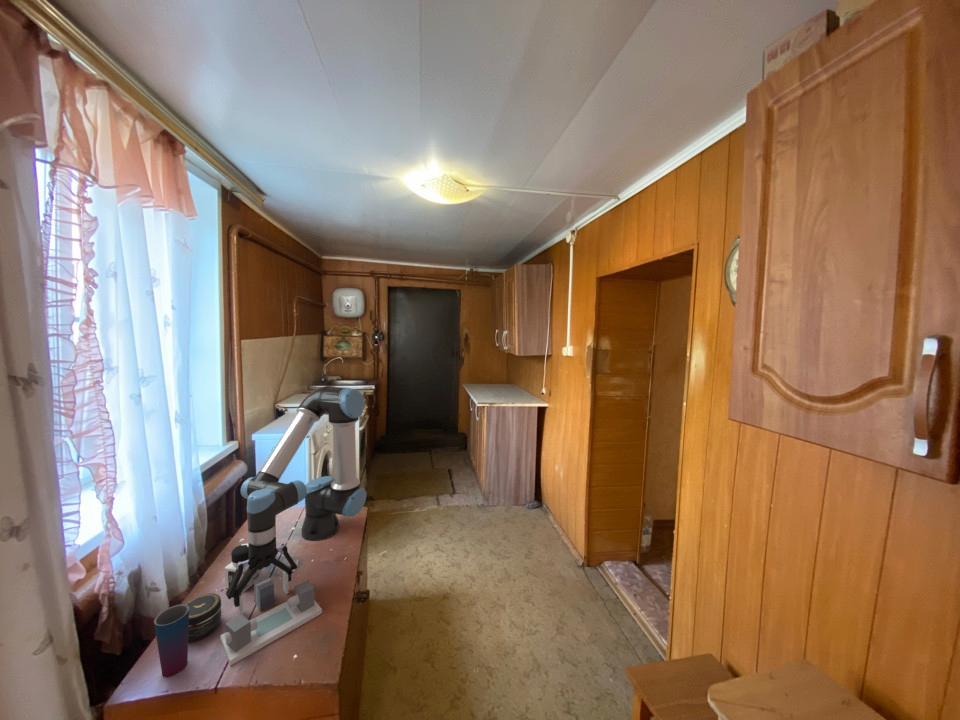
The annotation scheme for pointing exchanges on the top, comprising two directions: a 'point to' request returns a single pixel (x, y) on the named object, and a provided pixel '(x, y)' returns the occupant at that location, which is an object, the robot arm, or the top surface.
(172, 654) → the cup
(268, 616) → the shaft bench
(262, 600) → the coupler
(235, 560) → the container
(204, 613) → the jar
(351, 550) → the top surface
